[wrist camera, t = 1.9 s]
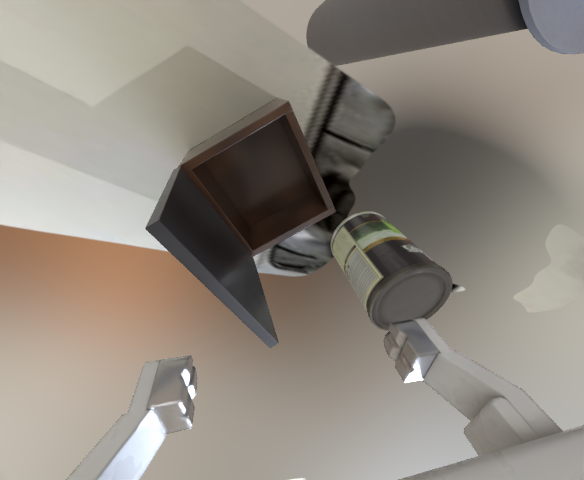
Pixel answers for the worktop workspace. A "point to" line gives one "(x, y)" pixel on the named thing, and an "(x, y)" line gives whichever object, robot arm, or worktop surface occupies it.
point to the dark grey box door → (211, 252)
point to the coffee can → (388, 270)
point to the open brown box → (261, 177)
